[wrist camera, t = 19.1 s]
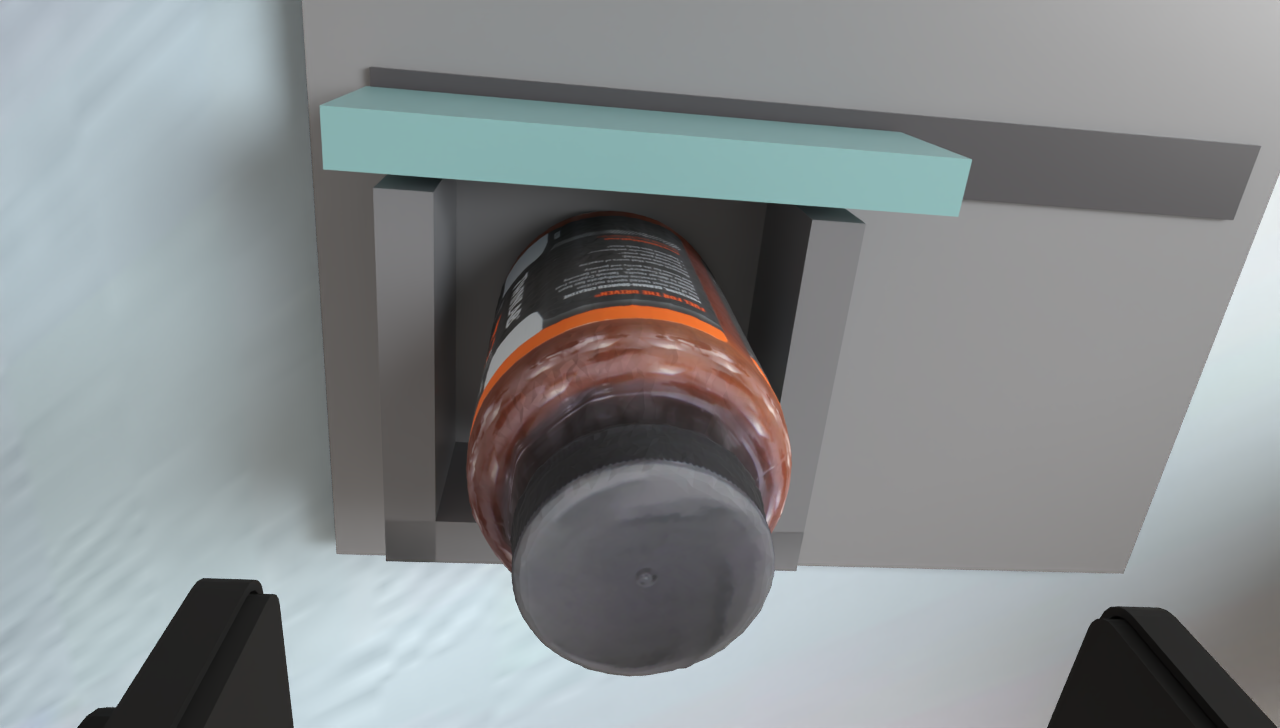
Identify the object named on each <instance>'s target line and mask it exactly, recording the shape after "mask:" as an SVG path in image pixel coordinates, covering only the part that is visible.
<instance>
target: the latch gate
mask: <svg viewBox="0 0 1280 728" xmlns="http://www.w3.org/2000/svg"><path fill="white" fill-rule="evenodd" d="M320 122H321V139H322V156H323V169H324V170H338V171H351V172H365V173H378V174H391V175H405V176H418V177H431V178H445V179H458V180H472V181H485V182H498V183H512V184H525V185H539V186H552V187H565V188H579V189H592V190H605V191H619V192H632V193H646V194H659V195H672V196H686V197H699V198H713V199H726V200H739V201H753V202H766V203H780V204H793V205H806V206H820V207H833V208H846V209H860V210H873V211H887V212H900V213H913V214H927V215H940V216H954V217H958V216H959V212H960V208H961V204H962V200H963V196H964V191H965V187H966V183H967V179H968V175H969V171H970V167H971V163H972V159H970V158H967V157H964V156H962V155H959V154H957V153H954V152H951V151H949V150H946V149H944V148H941V147H938V146H936V145H933V144H930V143H928V142H925V141H923V140H920V139H917V138H915V137H912V136H910V135H907V134H904V133H902V132H894V131H882V130H871V129H859V128H848V127H836V126H824V125H813V124H801V123H789V122H778V121H766V120H755V119H743V118H731V117H720V116H708V115H696V114H685V113H673V112H661V111H650V110H638V109H627V108H615V107H603V106H592V105H580V104H568V103H557V102H545V101H534V100H522V99H510V98H499V97H487V96H475V95H464V94H452V93H441V92H429V91H417V90H406V89H394V88H382V87H371V86H365V87H363V88H360V89H358V90H356V91H353V92H351V93H348V94H346V95H343V96H341V97H339V98H336V99H334V100H331V101H329V102H326V103H324V104H322V105H320Z"/></svg>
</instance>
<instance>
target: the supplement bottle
mask: <svg viewBox="0 0 1280 728" xmlns="http://www.w3.org/2000/svg"><path fill="white" fill-rule="evenodd" d="M791 457H792V454H791V447H790V440H789V435H788V430H787V426H786V423H785V419H784V415H783V412H782V409H781V406H780V403H779V401H778V399H777V397H776V395H775V393H774V391H773V390H772V388H771V386H770V384H769V381H768V378H767V376H766V375H765V373H764V372H763V370H762V367H761V365H760V363H759V362H758V360H757V358H756V356H755V354H754V352H753V351H752V349H751V347H750V345H749V342H748V341H747V339H746V337H745V335H744V333H743V331H742V329H741V327H740V325H739V323H738V322H737V320H736V317H735V316H734V314H733V312H732V309H731V307H730V306H729V304H728V302H727V301H726V298H725V296H724V295H723V293H722V291H721V289H720V287H719V286H718V284H717V282H716V280H715V278H714V276H713V274H712V273H711V271H710V269H709V268H708V266H707V265H706V263H705V262H704V261H703V259H702V258H701V256H700V255H699V254H698V253H697V251H696V250H695V249H694V248H693V247H692V246H691V245H690V244H689V243H688V242H687V241H686V240H685V239H684V238H683V237H682V236H680V235H679V234H678V233H677V232H675V231H674V230H673V229H672V228H670V227H669V226H667V225H665V224H663V223H661V222H659V221H657V220H654V219H652V218H649V217H646V216H643V215H638V214H635V213H629V212H623V211H598V212H590V213H584V214H580V215H577V216H574V217H570V218H568V219H566V220H564V221H561V222H559V223H557V224H555V225H554V226H552V227H550V228H549V229H548V230H546V231H545V232H543V233H542V234H540V235H539V236H538V237H536V238H535V239H534V240H533V241H532V242H531V243H530V244H529V245H528V246H527V247H526V248H525V249H524V250H523V251H522V252H521V254H520V255H519V256H518V257H517V259H516V261H515V263H514V264H513V266H512V267H511V269H510V271H509V273H508V275H507V277H506V280H505V283H504V284H503V286H502V289H501V293H500V297H499V299H498V304H497V307H496V312H495V318H494V322H493V326H492V331H491V337H490V341H489V348H488V352H487V358H486V361H485V367H484V371H483V375H482V380H481V383H480V388H479V395H478V398H477V400H476V406H475V412H474V417H473V421H472V428H471V432H470V438H469V444H468V451H467V465H466V472H467V483H468V484H467V488H468V493H469V502H470V506H471V508H472V515H473V517H474V519H475V521H476V522H477V524H478V525H479V527H480V530H481V532H482V534H483V536H484V538H485V539H486V541H487V543H488V544H489V546H490V547H491V549H492V551H493V552H494V554H495V555H496V556H497V557H498V558H499V560H500V561H501V562H502V563H503V564H504V566H505V567H506V568H507V569H508V570H509V571H510V572H511V573H512V584H513V592H514V595H515V600H516V603H517V605H518V608H519V610H520V612H521V615H522V617H523V618H524V620H525V621H526V623H527V624H528V626H529V627H530V629H531V630H532V631H533V632H534V634H535V635H536V636H537V637H538V639H539V640H540V641H541V642H542V643H543V644H544V645H545V646H547V647H548V648H550V649H551V650H552V651H554V652H555V653H557V654H558V655H560V656H561V657H563V658H565V659H567V660H569V661H571V662H573V663H576V664H578V665H581V666H582V667H584V668H586V669H589V670H594V671H599V672H604V673H607V674H614V675H623V676H644V675H652V674H657V673H663V672H668V671H673V670H676V669H679V668H687V667H689V666H691V665H693V664H694V663H697V662H699V661H702V660H704V659H707V658H709V657H711V656H713V655H714V654H716V653H717V652H719V651H721V650H723V649H725V648H726V647H727V646H728V645H729V644H730V643H731V642H732V641H733V640H734V639H736V638H737V637H738V636H739V635H741V634H742V633H743V632H744V631H745V630H746V628H747V627H748V626H749V625H750V623H751V622H752V621H753V620H754V619H755V617H756V616H757V615H758V614H759V612H760V611H761V609H762V606H763V604H764V602H765V599H766V597H767V595H768V593H769V591H770V588H771V586H772V580H773V576H774V570H775V566H774V562H775V552H774V546H773V540H772V536H771V533H772V531H773V530H774V528H775V526H776V525H777V523H778V520H779V519H780V517H781V514H782V512H783V509H784V505H785V501H786V498H787V494H788V490H789V485H790V478H791V467H792V461H791Z"/></svg>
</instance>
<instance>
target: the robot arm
mask: <svg viewBox="0 0 1280 728" xmlns="http://www.w3.org/2000/svg"><path fill="white" fill-rule="evenodd" d="M77 728H294V726H293V718H292V709H291V700H290V691H289V682H288V674H287V665H286V656H285V647H284V638H283V630H282V621H281V612H280V604H279V599H278V597H277V595H274V594H263V589H262V586H261V584H260V582H259V581H257V580H244V579H211V578H203V579H201V580H199V581H197V582H196V584H195V585H194V586H193V587H192V589H191V590H190V592H189V593H188V595H187V597H186V598H185V600H184V601H183V603H182V605H181V606H180V608H179V609H178V611H177V612H176V614H175V616H174V617H173V619H172V620H171V622H170V623H169V625H168V627H167V628H166V630H165V631H164V633H163V634H162V636H161V638H160V639H159V641H158V642H157V644H156V645H155V647H154V649H153V650H152V652H151V653H150V655H149V656H148V658H147V660H146V661H145V663H144V664H143V666H142V667H141V669H140V671H139V672H138V674H137V675H136V677H135V679H134V680H133V682H132V683H131V685H130V686H129V688H128V690H127V691H126V693H125V694H124V696H123V697H122V699H121V701H120V702H119V704H118V705H117V707H106V708H98V709H96V710H95V711H93V712H92V713H91V714H89V715H88V716H86V718H85V719H84V720H83V721H82V723H81V724H80V725H79V726H78V727H77ZM1047 728H1277V727H1276V726H1275V725H1274V723H1273V722H1272V721H1271V720H1270V719H1269V718H1268V717H1267V716H1266V715H1265V714H1264V713H1263V712H1262V710H1261V709H1260V708H1259V707H1258V706H1257V705H1256V704H1255V703H1254V702H1253V701H1252V700H1251V699H1250V697H1249V696H1248V695H1247V694H1246V693H1245V692H1244V691H1243V690H1242V689H1241V688H1240V687H1239V686H1238V684H1237V683H1236V682H1235V681H1234V680H1233V679H1232V678H1231V677H1230V676H1229V675H1228V674H1227V673H1226V672H1225V670H1224V669H1223V668H1222V667H1221V666H1220V665H1219V664H1218V663H1217V662H1216V661H1215V660H1214V659H1213V657H1212V656H1211V655H1210V654H1209V653H1208V652H1207V651H1206V650H1205V649H1204V648H1203V647H1202V646H1201V644H1200V643H1199V642H1198V641H1197V640H1196V639H1195V638H1194V637H1193V636H1192V635H1191V634H1190V633H1189V631H1188V630H1187V629H1186V628H1185V627H1184V626H1183V625H1182V624H1181V623H1180V622H1179V621H1178V620H1177V618H1176V617H1174V616H1173V615H1172V614H1171V613H1170V612H1168V611H1167V610H1164V609H1161V608H1150V607H1118V606H1117V607H1110V608H1108V609H1107V610H1106V611H1104V613H1103V614H1102V616H1101V617H1100V619H1096V620H1094V621H1093V622H1092V623H1091V625H1090V626H1089V628H1088V631H1087V633H1086V635H1085V638H1084V640H1083V643H1082V645H1081V647H1080V650H1079V652H1078V655H1077V657H1076V660H1075V662H1074V664H1073V667H1072V669H1071V672H1070V674H1069V676H1068V679H1067V681H1066V684H1065V686H1064V688H1063V691H1062V693H1061V696H1060V698H1059V700H1058V703H1057V705H1056V708H1055V710H1054V712H1053V715H1052V717H1051V720H1050V722H1049V725H1048V727H1047Z"/></svg>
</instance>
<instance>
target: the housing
mask: <svg viewBox="0 0 1280 728" xmlns="http://www.w3.org/2000/svg"><path fill="white" fill-rule="evenodd" d="M302 14H303V30H304V46H305V62H306V77H307V93H308V109H309V125H310V141H311V157H312V173H313V188H314V204H315V220H316V236H317V252H318V268H319V283H320V299H321V315H322V331H323V347H324V363H325V379H326V394H327V410H328V426H329V442H330V458H331V474H332V489H333V505H334V521H335V537H336V553H337V554H356V555H386V561H403V562H445V563H486V564H503V563H502V562H501V561H500V560H499V558H498V557H497V556H496V555H495V554H494V552H493V551H492V549H491V547H490V546H489V544H488V543H487V541H486V539H485V538H484V536H483V534H482V532H481V530H480V527H479V525H478V524H477V522H476V521H475V519H474V517H473V515H472V508H471V506H470V502H469V493H468V488H467V484H468V483H467V472H466V465H467V451H468V444H469V438H470V432H471V428H472V421H473V417H474V412H475V406H476V400H477V398H478V395H479V388H480V383H481V380H482V375H483V371H484V367H485V361H486V358H487V352H488V348H489V341H490V337H491V331H492V326H493V322H494V318H495V312H496V307H497V304H498V299H499V297H500V293H501V289H502V286H503V284H504V283H505V280H506V277H507V275H508V273H509V271H510V269H511V267H512V266H513V264H514V263H515V261H516V259H517V257H518V256H519V255H520V254H521V252H522V251H523V250H524V249H525V248H526V247H527V246H528V245H529V244H530V243H531V242H532V241H533V240H534V239H535V238H536V237H538V236H539V235H540V234H542V233H543V232H545V231H546V230H548V229H549V228H550V227H552V226H554V225H555V224H557V223H559V222H561V221H564V220H566V219H568V218H570V217H574V216H577V215H580V214H584V213H590V212H598V211H623V212H629V213H635V214H638V215H643V216H646V217H649V218H652V219H654V220H657V221H659V222H661V223H663V224H665V225H667V226H669V227H670V228H672V229H673V230H674V231H675V232H677V233H678V234H679V235H680V236H682V237H683V238H684V239H685V240H686V241H687V242H688V243H689V244H690V245H691V246H692V247H693V248H694V249H695V250H696V251H697V253H698V254H699V255H700V256H701V258H702V259H703V261H704V262H705V263H706V265H707V266H708V268H709V269H710V271H711V273H712V274H713V276H714V278H715V280H716V282H717V284H718V286H719V287H720V289H721V291H722V293H723V295H724V296H725V298H726V301H727V302H728V304H729V306H730V307H731V309H732V312H733V314H734V316H735V317H736V320H737V322H738V323H739V325H740V327H741V329H742V331H743V333H744V335H745V337H746V339H747V341H748V342H749V345H750V347H751V349H752V351H753V352H754V354H755V356H756V358H757V360H758V362H759V363H760V365H761V367H762V370H763V372H764V373H765V375H766V376H767V378H768V381H769V384H770V386H771V388H772V390H773V391H774V393H775V395H776V397H777V399H778V401H779V403H780V406H781V409H782V412H783V415H784V419H785V423H786V426H787V430H788V435H789V440H790V447H791V454H792V457H791V461H792V467H791V478H790V485H789V490H788V494H787V498H786V501H785V505H784V509H783V512H782V514H781V517H780V519H779V520H778V523H777V525H776V526H775V528H774V530H773V531H772V533H771V536H772V540H773V546H774V552H775V562H774V566H775V570H777V571H796V569H797V565H800V566H840V567H880V568H921V569H961V570H1001V571H1042V572H1082V573H1122V574H1123V573H1124V571H1125V568H1126V565H1127V563H1128V560H1129V558H1130V555H1131V553H1132V550H1133V547H1134V545H1135V542H1136V540H1137V537H1138V535H1139V532H1140V530H1141V527H1142V524H1143V522H1144V519H1145V517H1146V514H1147V512H1148V509H1149V506H1150V504H1151V501H1152V499H1153V496H1154V494H1155V491H1156V489H1157V486H1158V483H1159V481H1160V478H1161V476H1162V473H1163V471H1164V468H1165V466H1166V463H1167V460H1168V458H1169V455H1170V453H1171V450H1172V448H1173V445H1174V442H1175V440H1176V437H1177V435H1178V432H1179V430H1180V427H1181V425H1182V422H1183V419H1184V417H1185V414H1186V412H1187V409H1188V407H1189V404H1190V401H1191V399H1192V396H1193V394H1194V391H1195V389H1196V386H1197V384H1198V381H1199V378H1200V376H1201V373H1202V371H1203V368H1204V366H1205V363H1206V360H1207V358H1208V355H1209V353H1210V350H1211V348H1212V345H1213V343H1214V340H1215V337H1216V335H1217V332H1218V330H1219V327H1220V325H1221V322H1222V319H1223V317H1224V314H1225V312H1226V309H1227V307H1228V304H1229V302H1230V299H1231V296H1232V294H1233V291H1234V289H1235V286H1236V284H1237V281H1238V278H1239V276H1240V273H1241V271H1242V268H1243V266H1244V263H1245V261H1246V258H1247V255H1248V253H1249V250H1250V248H1251V245H1252V243H1253V240H1254V237H1255V235H1256V232H1257V230H1258V227H1259V225H1260V222H1261V220H1262V217H1263V214H1264V212H1265V209H1266V207H1267V204H1268V202H1269V199H1270V196H1271V194H1272V191H1273V189H1274V186H1275V184H1276V181H1277V179H1278V176H1279V173H1280V0H302ZM365 86H371V87H382V88H394V89H406V90H417V91H429V92H441V93H452V94H464V95H475V96H487V97H499V98H510V99H522V100H534V101H545V102H557V103H568V104H580V105H592V106H603V107H615V108H627V109H638V110H650V111H661V112H673V113H685V114H696V115H708V116H720V117H731V118H743V119H755V120H766V121H778V122H789V123H801V124H813V125H824V126H836V127H848V128H859V129H871V130H882V131H894V132H902V133H904V134H907V135H910V136H912V137H915V138H917V139H920V140H923V141H925V142H928V143H930V144H933V145H936V146H938V147H941V148H944V149H946V150H949V151H951V152H954V153H957V154H959V155H962V156H964V157H967V158H970V159H972V163H971V167H970V171H969V175H968V179H967V183H966V187H965V191H964V196H963V200H962V204H961V208H960V212H959V216H958V217H954V216H940V215H927V214H913V213H900V212H887V211H873V210H860V209H846V208H833V207H820V206H806V205H793V204H780V203H766V202H753V201H739V200H726V199H713V198H699V197H686V196H672V195H659V194H646V193H632V192H619V191H605V190H592V189H579V188H565V187H552V186H539V185H525V184H512V183H498V182H485V181H472V180H458V179H445V178H431V177H418V176H405V175H391V174H378V173H365V172H351V171H338V170H324V169H323V156H322V139H321V122H320V105H322V104H324V103H326V102H329V101H331V100H334V99H336V98H339V97H341V96H343V95H346V94H348V93H351V92H353V91H356V90H358V89H360V88H363V87H365Z"/></svg>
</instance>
